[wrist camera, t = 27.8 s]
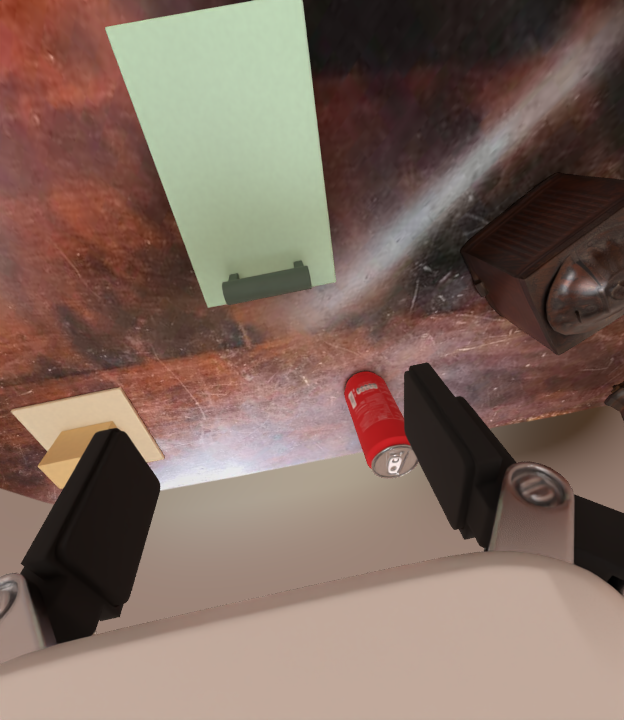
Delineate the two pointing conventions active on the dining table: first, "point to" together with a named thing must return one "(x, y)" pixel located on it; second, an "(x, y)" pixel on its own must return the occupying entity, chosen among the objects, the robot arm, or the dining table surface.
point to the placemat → (88, 419)
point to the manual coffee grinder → (556, 262)
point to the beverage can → (379, 426)
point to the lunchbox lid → (234, 143)
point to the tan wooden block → (69, 452)
